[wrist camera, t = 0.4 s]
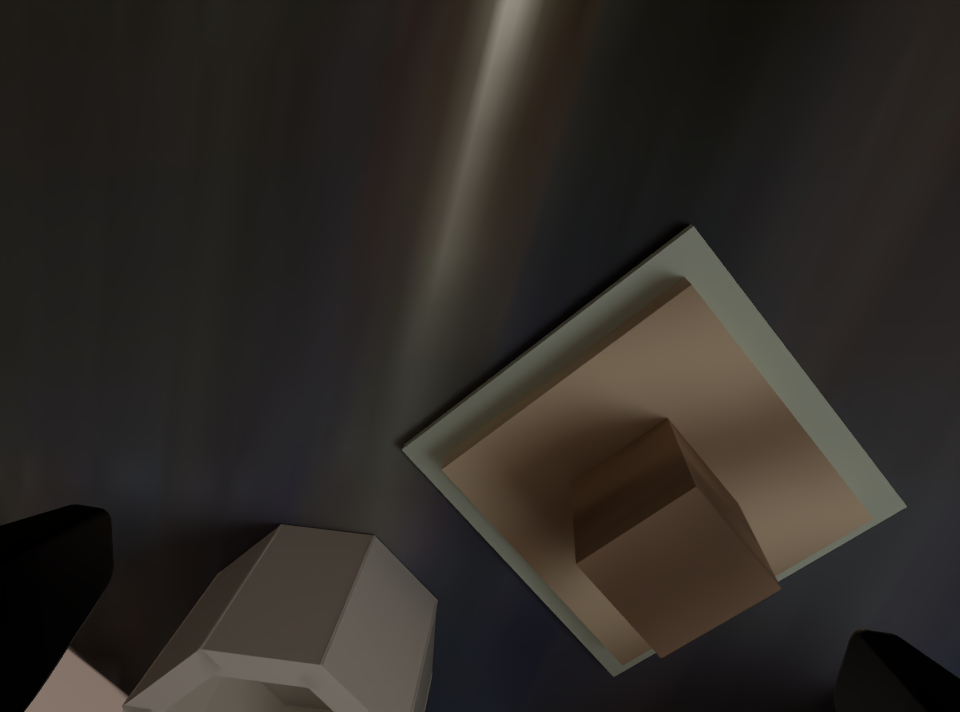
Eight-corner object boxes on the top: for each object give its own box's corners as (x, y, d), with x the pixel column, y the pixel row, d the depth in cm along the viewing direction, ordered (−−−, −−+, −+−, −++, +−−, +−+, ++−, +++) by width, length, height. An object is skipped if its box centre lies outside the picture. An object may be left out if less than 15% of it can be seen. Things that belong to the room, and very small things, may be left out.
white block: (480, 643, 25) (461, 798, 19) (325, 742, 27) (266, 908, 21) (328, 487, 23) (258, 604, 18) (176, 604, 25) (71, 743, 20)
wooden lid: (859, 501, 21) (948, 608, 17) (619, 644, 24) (638, 773, 19) (684, 276, 20) (728, 326, 15) (445, 454, 22) (418, 545, 17)
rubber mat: (900, 500, 22) (907, 506, 21) (612, 668, 25) (613, 677, 24) (690, 224, 20) (693, 226, 19) (404, 444, 23) (401, 449, 22)
